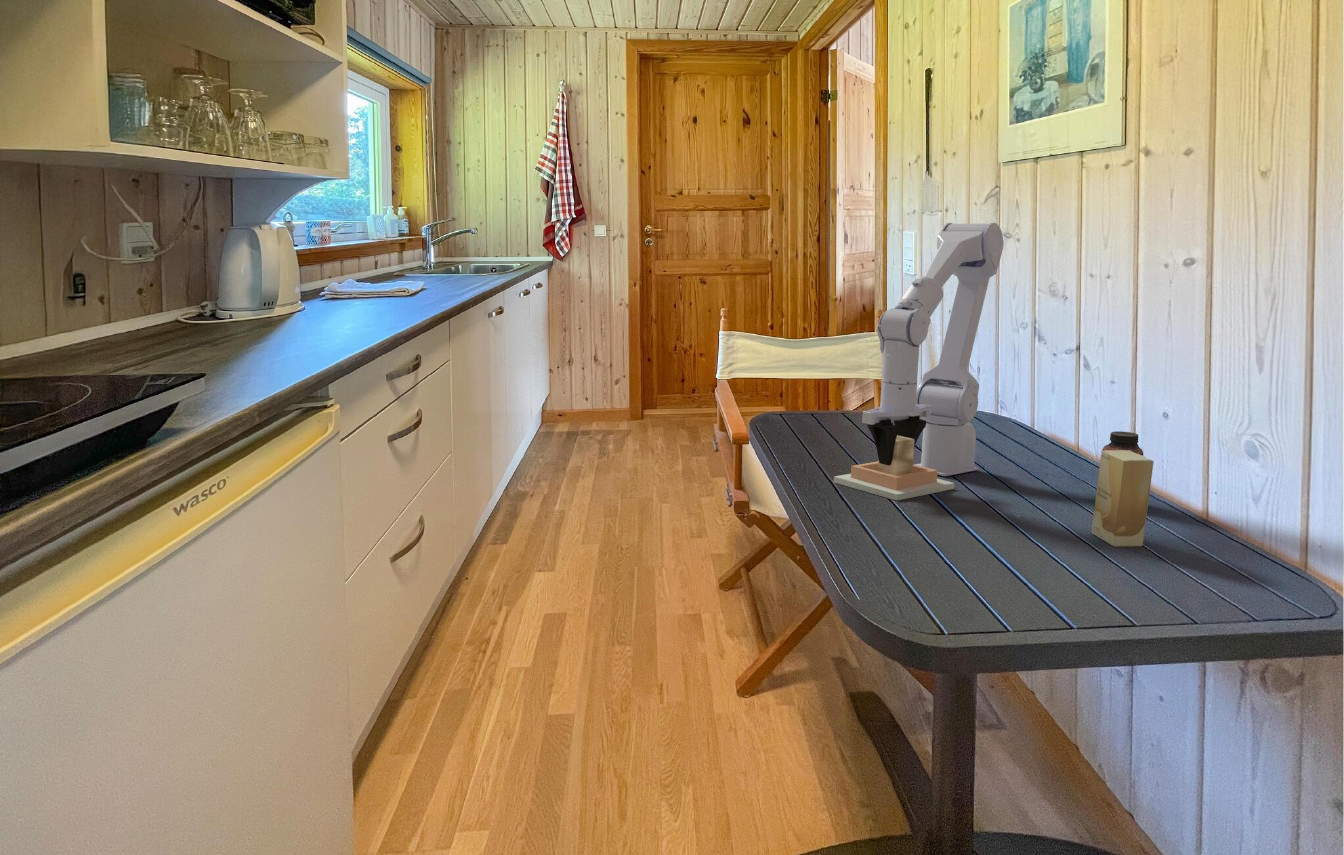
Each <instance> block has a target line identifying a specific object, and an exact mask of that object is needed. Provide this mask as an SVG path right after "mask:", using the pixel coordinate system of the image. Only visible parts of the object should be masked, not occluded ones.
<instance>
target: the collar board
mask: <svg viewBox="0 0 1344 855" xmlns="http://www.w3.org/2000/svg"><path fill="white" fill-rule="evenodd" d="M850 467H851V469H850V470H851V471H850V473H845V474H842V475H840V474H839V475H835V476H833V483H834V484H837V485H842V486H846V487H849V488H852V489H856V490H859V491H862V492H866V493H869V494H873V495H876V496H880V497H882V498H886V499H890V500H894V501H902V500H907V499H912V498H916V497H921V496H925V495H931V494H934V493H941V492H944V491H950V490H954V489H955V482H952V481H948V480H944V479H941V478H938V475H937V472H938V470H934V469H930V468H926V467H922V466H918V465H915V463H913V470H912V473H910V474H904V475H899V476H894V475H891V474H887V473H883V472H879V471H878V461H873V462H866V463H861V464H855V465H851V466H850Z"/></svg>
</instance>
